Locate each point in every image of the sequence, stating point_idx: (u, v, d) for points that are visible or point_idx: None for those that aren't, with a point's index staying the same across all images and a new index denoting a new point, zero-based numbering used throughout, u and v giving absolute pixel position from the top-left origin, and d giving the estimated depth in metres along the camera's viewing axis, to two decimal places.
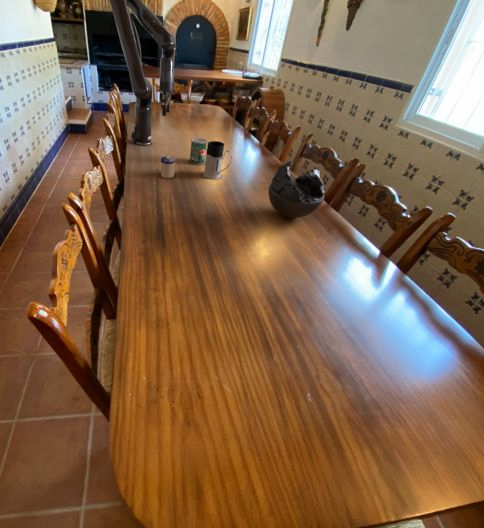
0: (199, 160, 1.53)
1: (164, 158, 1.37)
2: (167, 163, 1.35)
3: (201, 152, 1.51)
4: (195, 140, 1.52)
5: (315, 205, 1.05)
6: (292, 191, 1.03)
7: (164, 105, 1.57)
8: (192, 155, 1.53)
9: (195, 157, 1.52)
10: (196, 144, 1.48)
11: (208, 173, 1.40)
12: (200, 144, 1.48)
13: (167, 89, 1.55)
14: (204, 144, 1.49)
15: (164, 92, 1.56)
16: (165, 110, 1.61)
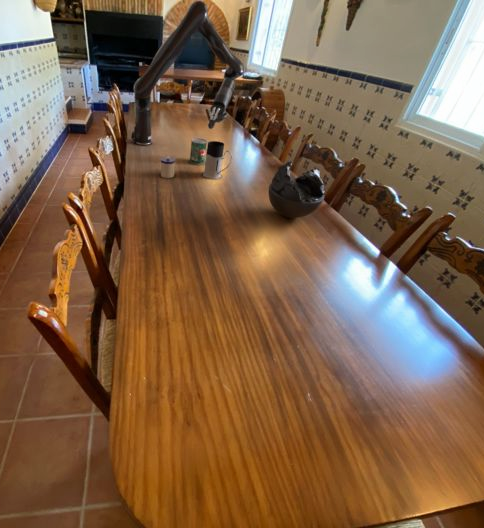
0: (199, 160, 1.53)
1: (164, 158, 1.37)
2: (167, 163, 1.35)
3: (201, 152, 1.51)
4: (195, 140, 1.52)
5: (315, 205, 1.05)
6: (292, 191, 1.03)
7: (219, 120, 1.56)
8: (192, 155, 1.53)
9: (195, 157, 1.52)
10: (196, 144, 1.48)
11: (208, 173, 1.40)
12: (200, 144, 1.48)
13: (226, 107, 1.57)
14: (204, 144, 1.49)
15: (225, 107, 1.55)
16: None
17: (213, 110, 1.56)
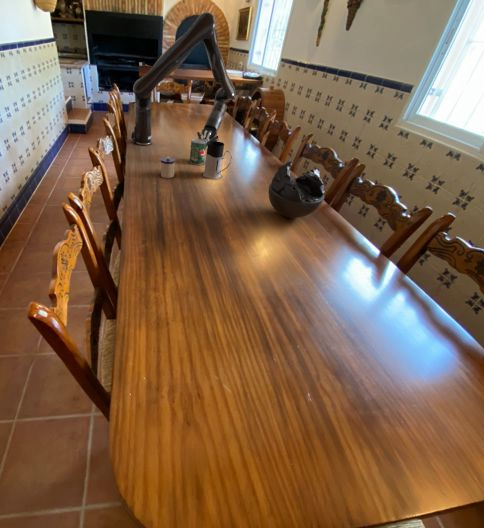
0: (199, 160, 1.53)
1: (164, 158, 1.37)
2: (167, 163, 1.35)
3: (200, 152, 1.51)
4: (195, 140, 1.51)
5: (315, 205, 1.05)
6: (292, 191, 1.03)
7: None
8: (192, 155, 1.53)
9: (195, 157, 1.52)
10: (196, 144, 1.48)
11: (208, 173, 1.40)
12: (200, 144, 1.48)
13: (217, 130, 1.58)
14: (204, 144, 1.49)
15: (216, 131, 1.56)
16: None
17: (204, 133, 1.57)
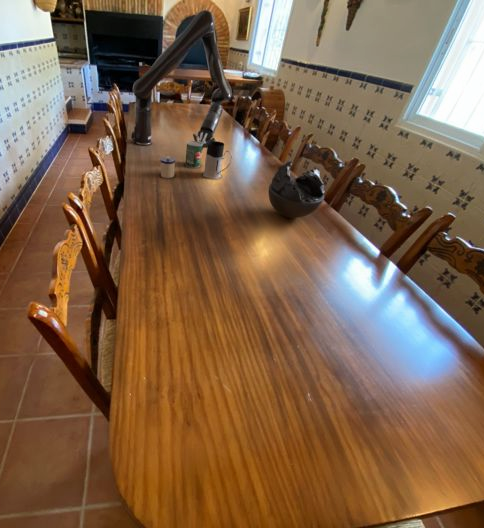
0: (195, 163, 1.49)
1: (164, 158, 1.37)
2: (167, 163, 1.35)
3: (196, 155, 1.47)
4: (191, 142, 1.48)
5: (315, 205, 1.05)
6: (292, 191, 1.03)
7: (207, 145, 1.53)
8: (187, 158, 1.49)
9: (191, 160, 1.49)
10: (191, 147, 1.45)
11: (208, 173, 1.40)
12: (195, 147, 1.44)
13: None
14: (200, 147, 1.45)
15: (213, 133, 1.53)
16: None
17: (201, 135, 1.53)
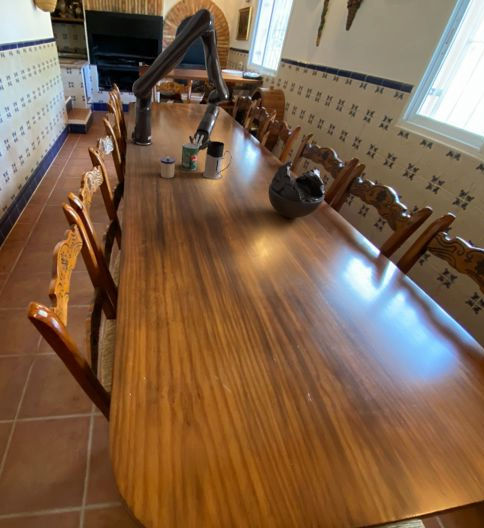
0: (191, 166, 1.46)
1: (164, 158, 1.37)
2: (167, 163, 1.35)
3: (192, 157, 1.44)
4: (186, 145, 1.45)
5: (315, 205, 1.05)
6: (292, 191, 1.03)
7: (203, 147, 1.50)
8: (183, 160, 1.46)
9: (187, 163, 1.45)
10: (187, 149, 1.42)
11: (208, 173, 1.40)
12: (191, 149, 1.41)
13: (210, 134, 1.51)
14: (195, 149, 1.42)
15: (209, 135, 1.50)
16: None
17: (197, 137, 1.50)
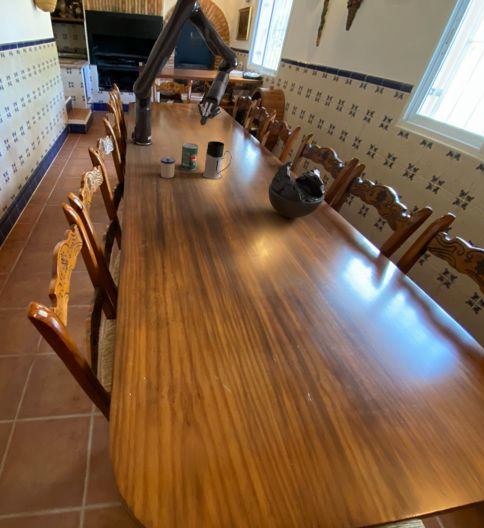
0: (191, 166, 1.46)
1: (164, 158, 1.37)
2: (167, 163, 1.35)
3: (192, 157, 1.44)
4: (186, 145, 1.45)
5: (315, 205, 1.05)
6: (292, 191, 1.03)
7: (212, 116, 1.48)
8: (183, 160, 1.46)
9: (186, 163, 1.45)
10: (187, 149, 1.41)
11: (208, 173, 1.40)
12: (191, 149, 1.41)
13: (219, 102, 1.49)
14: (195, 149, 1.42)
15: (218, 103, 1.47)
16: None
17: (205, 105, 1.48)
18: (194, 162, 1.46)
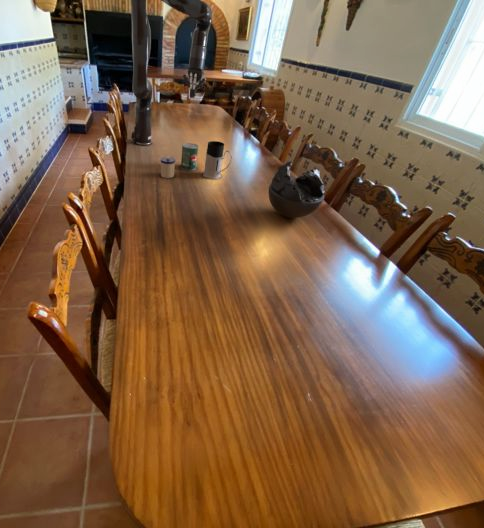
0: (191, 166, 1.46)
1: (164, 158, 1.37)
2: (167, 163, 1.35)
3: (192, 157, 1.44)
4: (186, 145, 1.45)
5: (315, 205, 1.05)
6: (292, 191, 1.03)
7: None
8: (183, 160, 1.46)
9: (186, 163, 1.45)
10: (187, 149, 1.41)
11: (208, 173, 1.40)
12: (191, 149, 1.41)
13: (203, 67, 1.45)
14: (195, 149, 1.42)
15: (202, 70, 1.44)
16: None
17: (190, 77, 1.47)
18: (194, 162, 1.46)
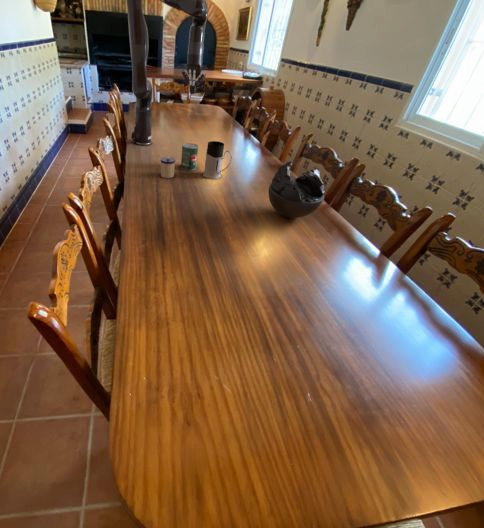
0: (191, 166, 1.46)
1: (164, 158, 1.37)
2: (167, 163, 1.35)
3: (192, 157, 1.44)
4: (186, 145, 1.45)
5: (315, 205, 1.05)
6: (292, 191, 1.03)
7: None
8: (183, 160, 1.46)
9: (186, 163, 1.45)
10: (187, 149, 1.41)
11: (208, 173, 1.40)
12: (191, 149, 1.41)
13: None
14: (195, 149, 1.42)
15: (200, 66, 1.44)
16: None
17: (189, 73, 1.47)
18: (194, 162, 1.46)
